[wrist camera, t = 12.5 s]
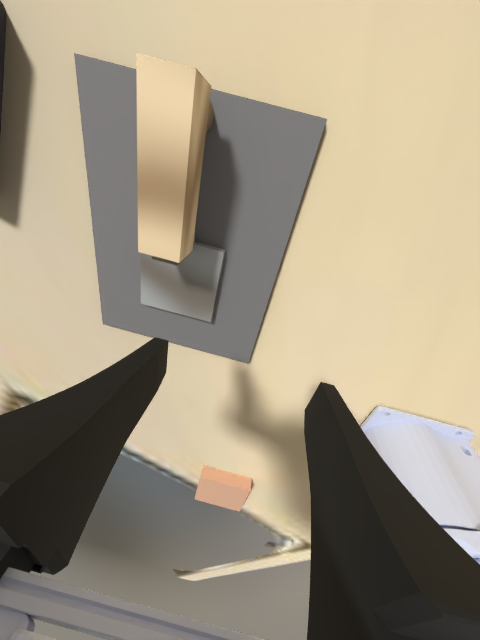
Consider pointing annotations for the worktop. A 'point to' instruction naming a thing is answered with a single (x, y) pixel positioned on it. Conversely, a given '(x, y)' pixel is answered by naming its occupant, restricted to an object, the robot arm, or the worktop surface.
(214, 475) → the tile
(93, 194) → the mat
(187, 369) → the worktop surface
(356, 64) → the worktop surface
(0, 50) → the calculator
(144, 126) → the beige long bar
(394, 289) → the worktop surface
